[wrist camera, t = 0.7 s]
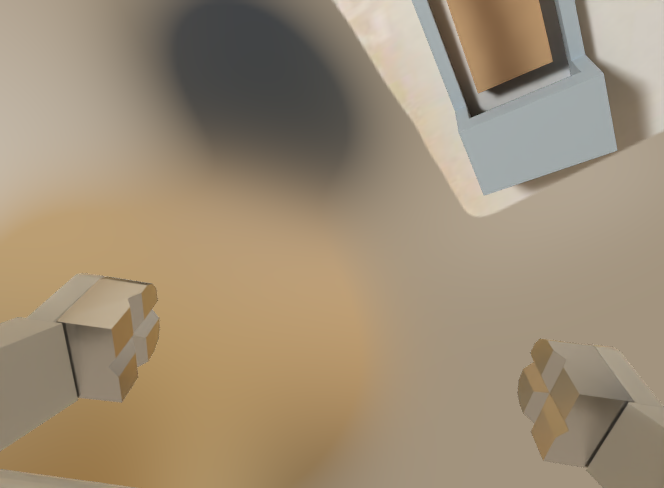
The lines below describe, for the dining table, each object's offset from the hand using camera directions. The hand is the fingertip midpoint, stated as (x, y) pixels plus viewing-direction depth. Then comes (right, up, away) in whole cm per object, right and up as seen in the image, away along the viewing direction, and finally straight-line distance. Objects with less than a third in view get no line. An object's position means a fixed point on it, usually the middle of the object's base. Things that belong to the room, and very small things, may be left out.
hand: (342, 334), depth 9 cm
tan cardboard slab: (+16, +24, +32) cm, 43 cm away
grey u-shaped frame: (+17, +21, +34) cm, 43 cm away
